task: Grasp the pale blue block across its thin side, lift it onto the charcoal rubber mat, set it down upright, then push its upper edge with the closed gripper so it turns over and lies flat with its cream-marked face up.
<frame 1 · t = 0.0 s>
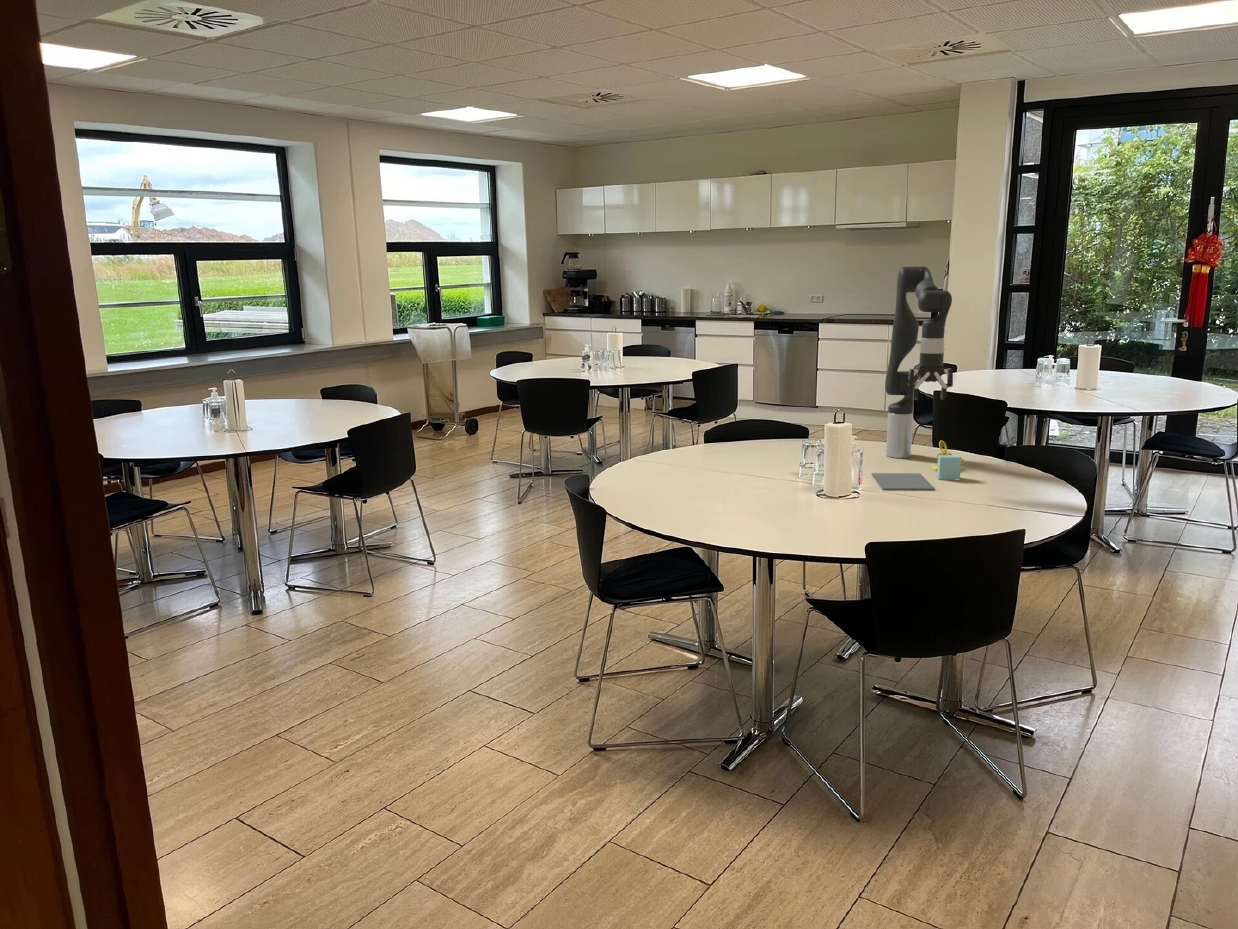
hand: (929, 399, 306), 29 cm above the table, fingers open, 8 cm apart
pale blue block: (948, 478, 319), on the table
decorative insect: (949, 469, 333), on the table
mat: (902, 482, 315), on the table
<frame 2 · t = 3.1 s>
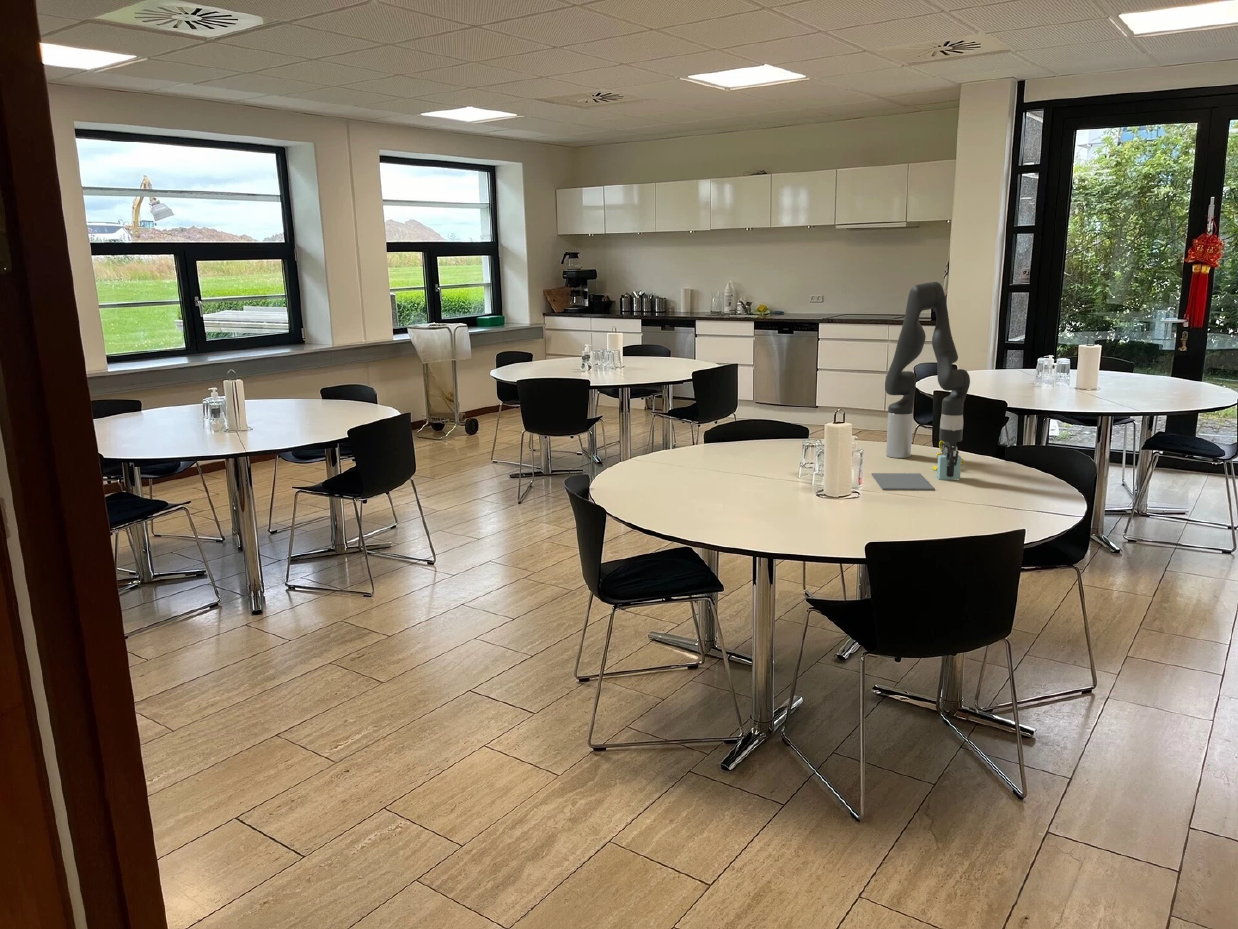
hand: (948, 474, 319), 1 cm above the table, fingers closed on pale blue block, 3 cm apart
pale blue block: (948, 478, 319), on the table, touching gripper
everything else where it was.
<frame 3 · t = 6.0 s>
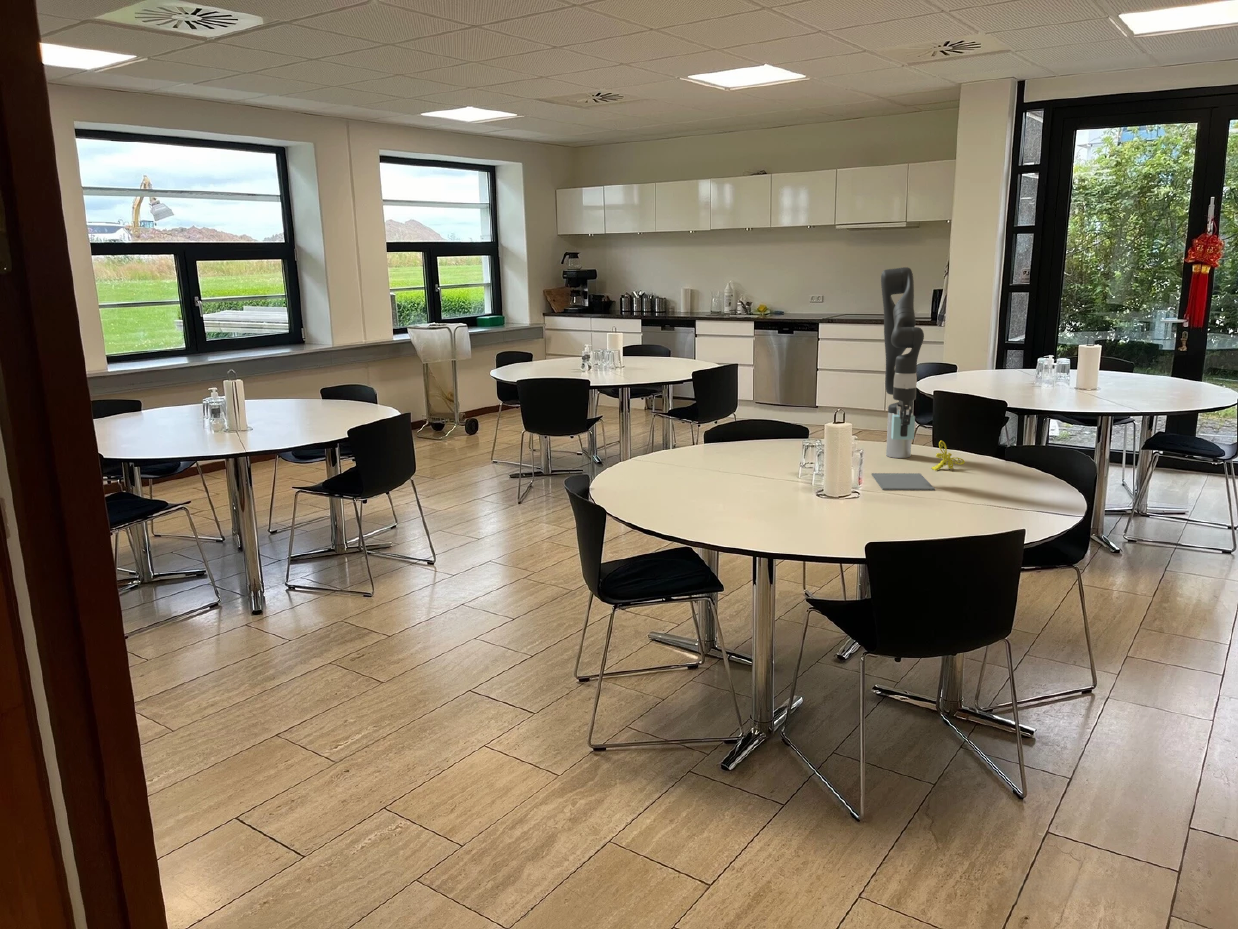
hand: (902, 434, 314), 16 cm above the table, fingers closed on pale blue block, 3 cm apart
pale blue block: (902, 438, 314), point 15 cm above the table, touching gripper
everything else where it was.
when the fingers open (2 cm above the table, at t = 8.7 s): pale blue block stays where it is, resting on mat.
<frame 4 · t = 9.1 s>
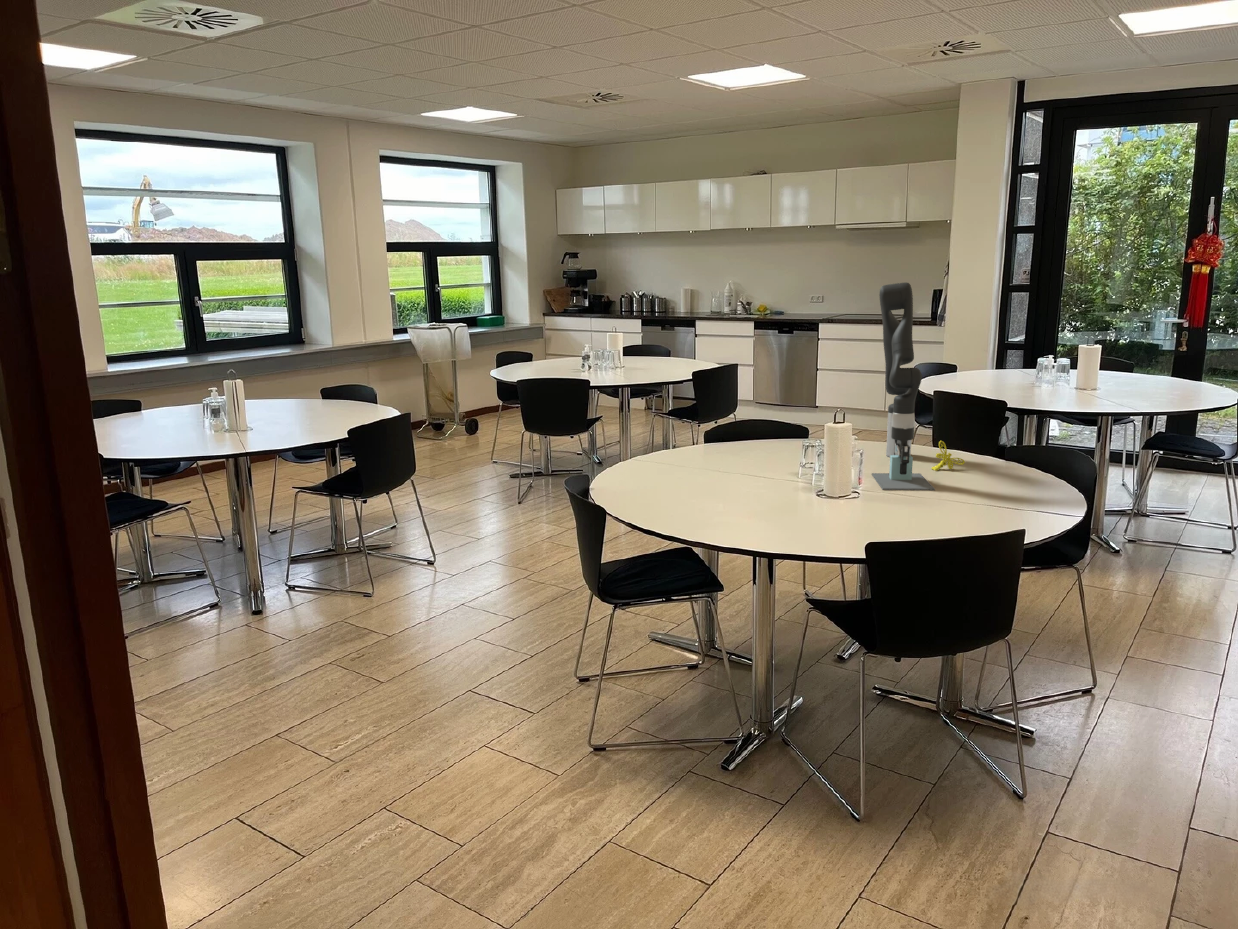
hand: (900, 471, 317), 3 cm above the table, fingers open, 7 cm apart
pale blue block: (900, 478, 318), point 1 cm above the table, touching mat
everything else where it was.
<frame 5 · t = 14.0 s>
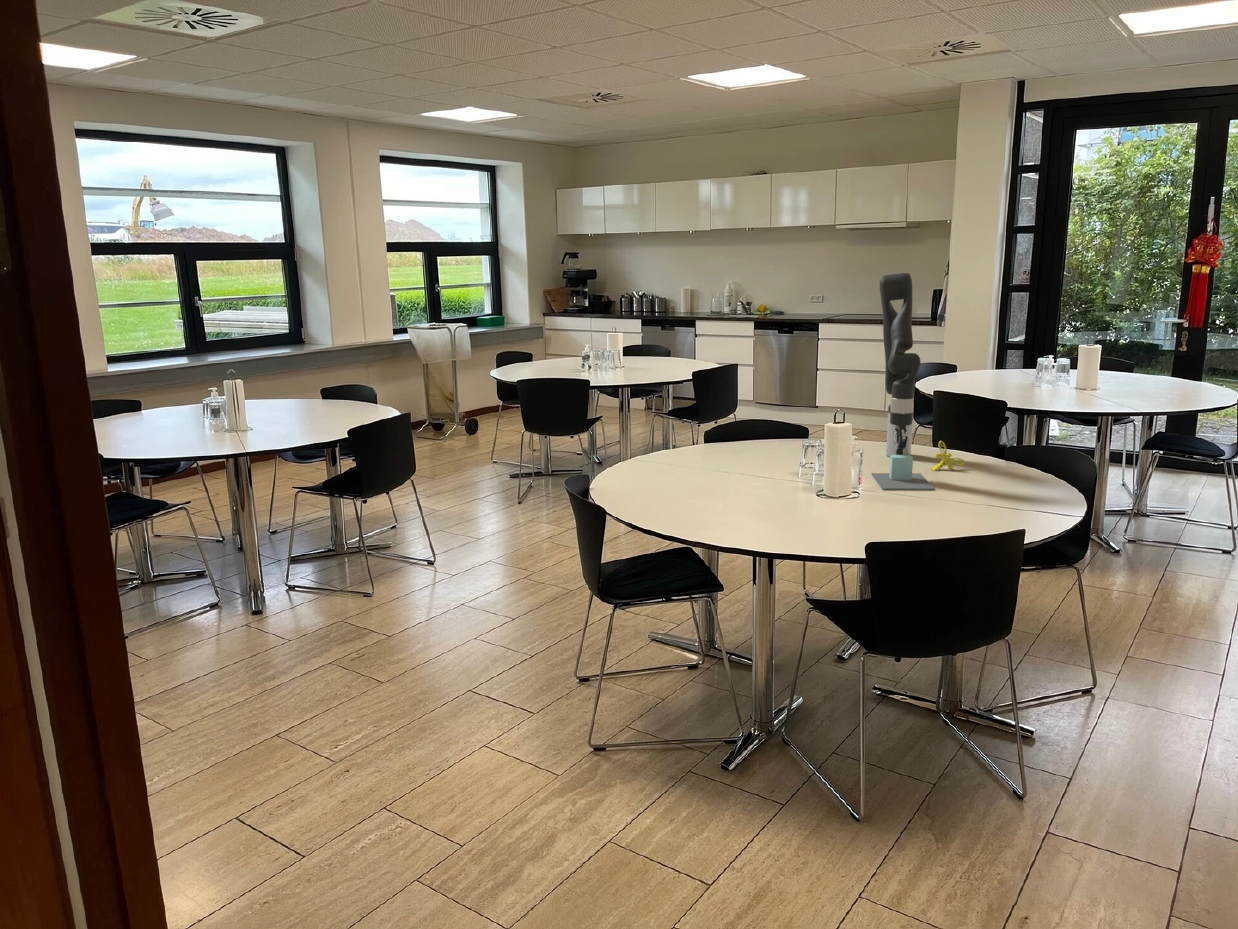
hand: (899, 459, 319), 7 cm above the table, fingers closed
pale blue block: (900, 478, 318), point 1 cm above the table, touching gripper, mat
everything else where it was.
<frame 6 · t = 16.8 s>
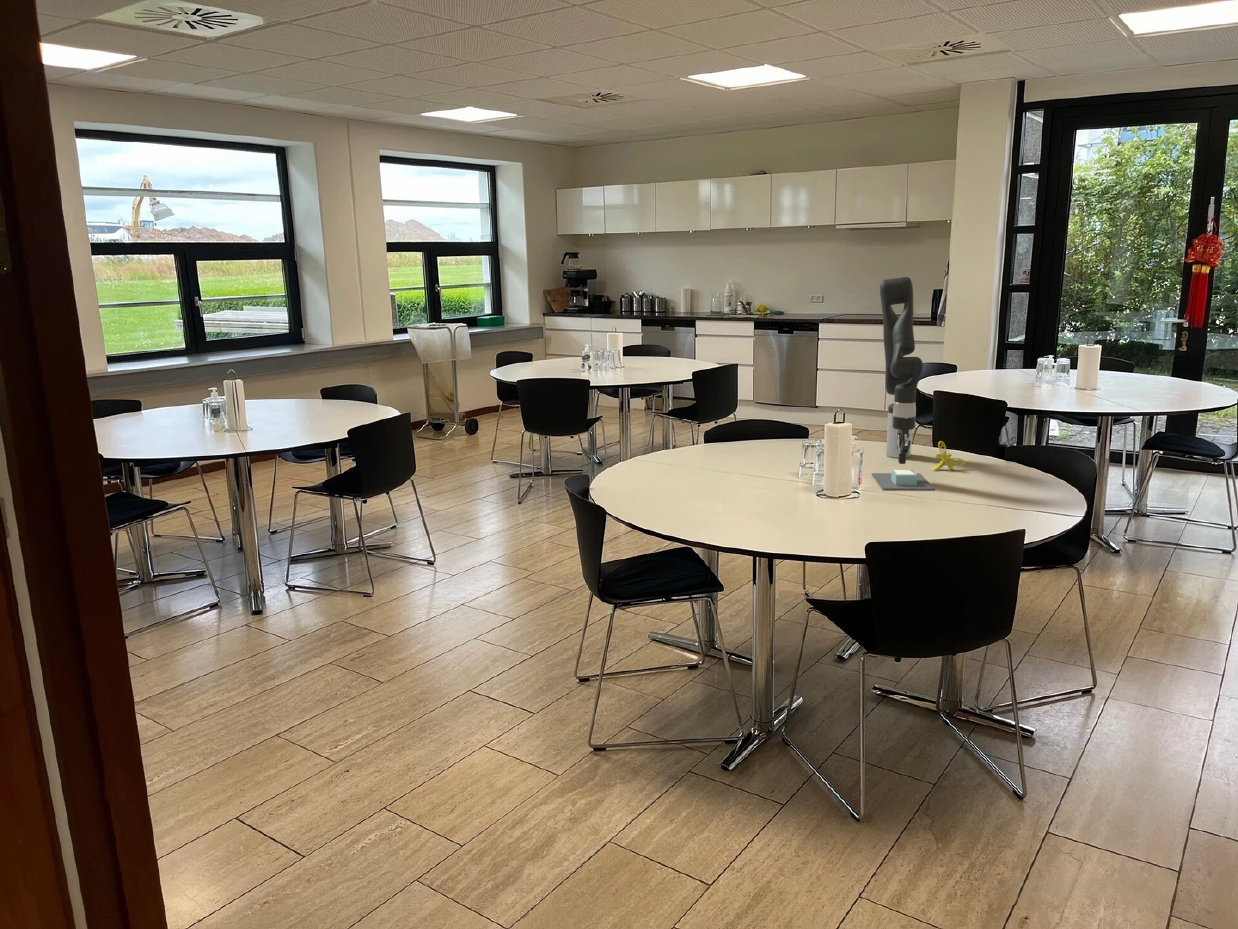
hand: (901, 463, 317), 6 cm above the table, fingers closed
pale blue block: (901, 474, 315), point 2 cm above the table, tilted 90°, touching mat
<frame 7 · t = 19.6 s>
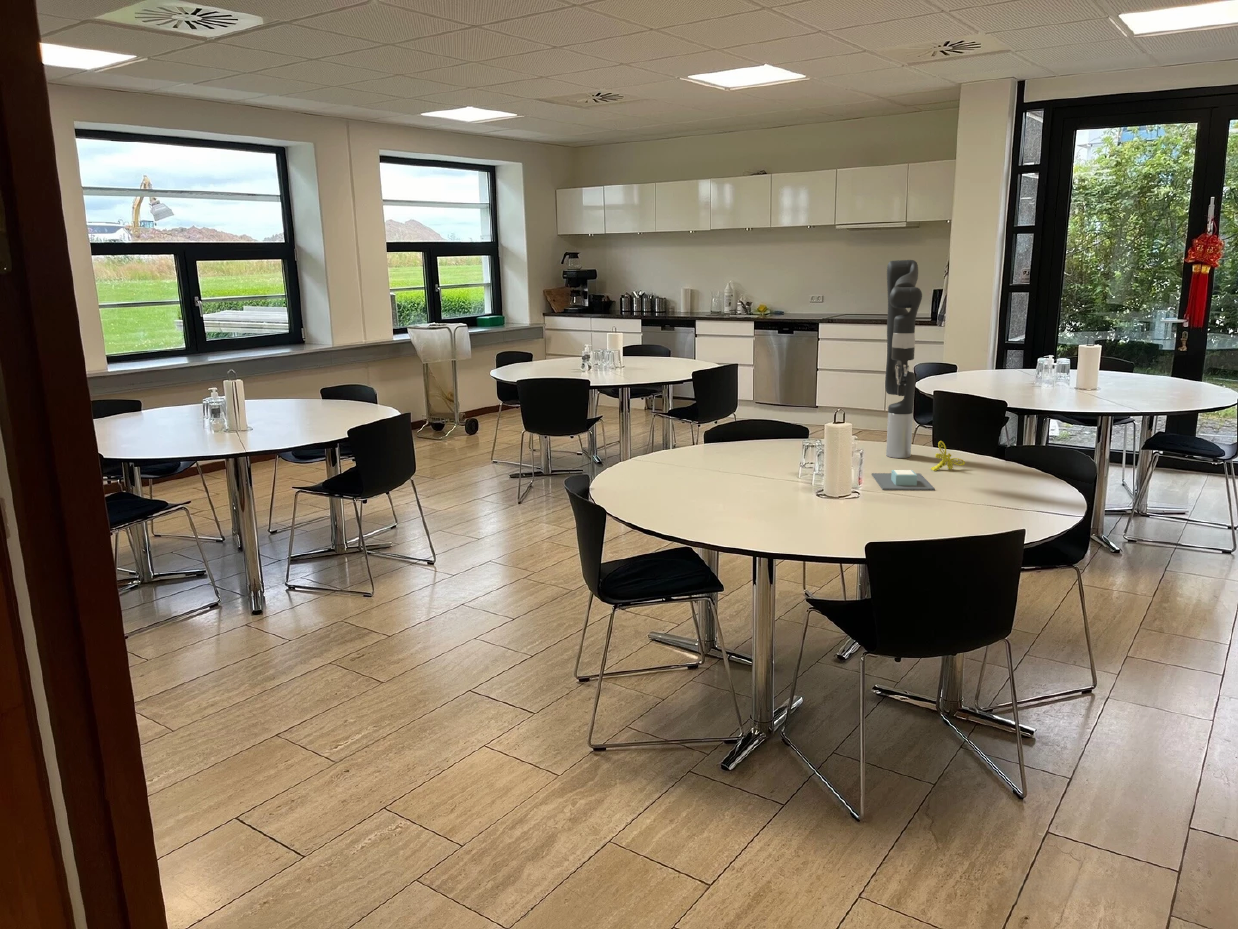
hand: (900, 395, 317), 29 cm above the table, fingers closed
at the end: pale blue block tilted 90°; pale blue block inside the target area (2.7 cm from its centre), point 2.3 cm above the table; the gripper is holding nothing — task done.
